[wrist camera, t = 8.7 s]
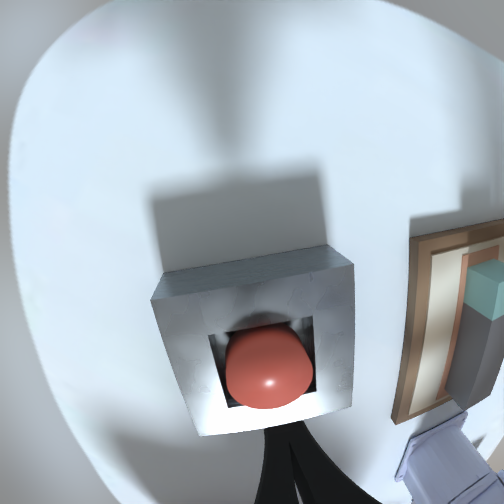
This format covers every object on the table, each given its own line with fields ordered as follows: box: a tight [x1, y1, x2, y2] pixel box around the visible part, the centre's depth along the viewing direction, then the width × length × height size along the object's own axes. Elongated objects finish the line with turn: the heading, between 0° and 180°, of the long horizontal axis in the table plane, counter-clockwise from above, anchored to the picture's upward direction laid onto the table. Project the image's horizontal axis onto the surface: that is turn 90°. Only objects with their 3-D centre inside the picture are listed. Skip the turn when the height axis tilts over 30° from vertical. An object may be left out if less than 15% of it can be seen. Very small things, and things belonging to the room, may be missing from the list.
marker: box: [444, 259, 504, 411], centre depth 17 cm, size 12×3×3 cm, turn 9°
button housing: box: [150, 245, 355, 436], centre depth 16 cm, size 9×9×4 cm
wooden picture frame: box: [391, 219, 504, 425], centre depth 19 cm, size 16×12×1 cm
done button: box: [225, 322, 313, 410], centre depth 14 cm, size 4×4×2 cm
